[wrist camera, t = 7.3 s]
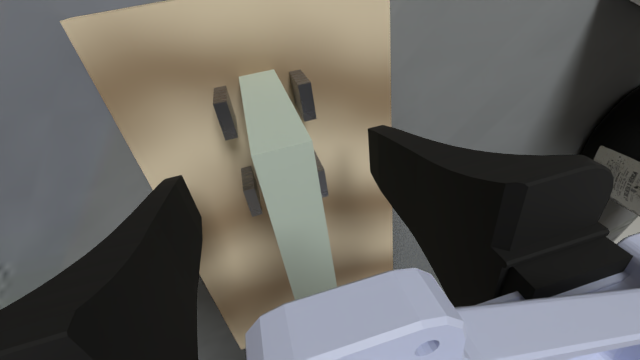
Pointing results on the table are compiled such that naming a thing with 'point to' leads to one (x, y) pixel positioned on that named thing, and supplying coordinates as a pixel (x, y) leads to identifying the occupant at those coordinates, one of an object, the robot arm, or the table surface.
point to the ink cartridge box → (638, 0)
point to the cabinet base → (231, 155)
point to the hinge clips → (229, 129)
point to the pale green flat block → (288, 182)
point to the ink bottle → (620, 150)
